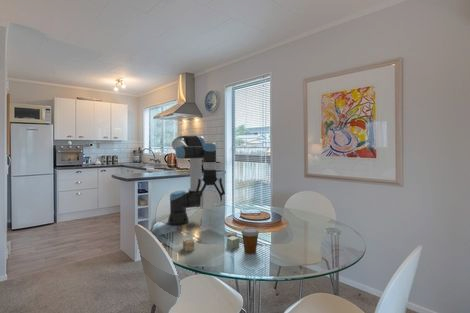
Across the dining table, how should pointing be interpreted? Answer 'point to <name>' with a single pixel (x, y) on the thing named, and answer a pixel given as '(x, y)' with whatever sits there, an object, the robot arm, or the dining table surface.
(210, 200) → the mug
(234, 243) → the sage painted cube
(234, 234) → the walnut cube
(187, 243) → the oak cube
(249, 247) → the disposable coffee cup
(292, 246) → the dining table surface
